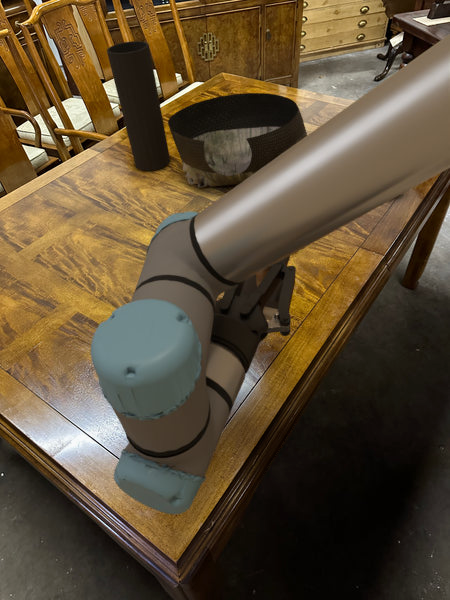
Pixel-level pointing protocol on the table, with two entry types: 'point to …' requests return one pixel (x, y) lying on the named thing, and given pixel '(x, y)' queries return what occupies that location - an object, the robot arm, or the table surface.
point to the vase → (139, 103)
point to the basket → (234, 136)
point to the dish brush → (252, 285)
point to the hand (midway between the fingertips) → (276, 235)
